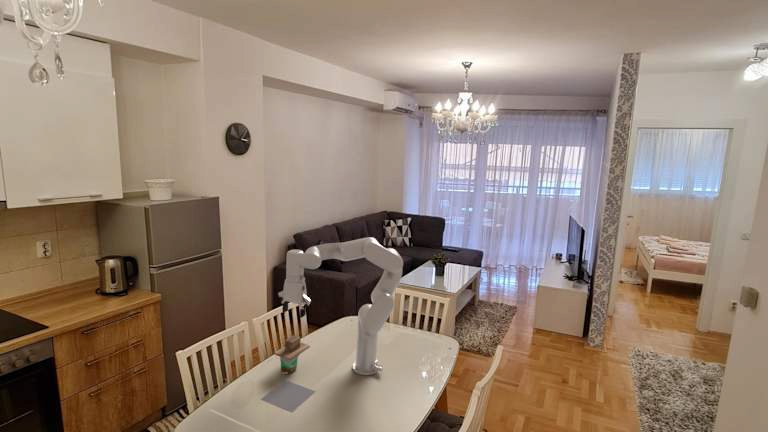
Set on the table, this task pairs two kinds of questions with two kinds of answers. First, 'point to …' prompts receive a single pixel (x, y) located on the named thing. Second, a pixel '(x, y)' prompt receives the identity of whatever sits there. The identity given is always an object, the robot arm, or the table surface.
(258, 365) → the table surface
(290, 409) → the rubber mat
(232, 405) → the table surface
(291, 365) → the food container
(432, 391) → the table surface
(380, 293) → the robot arm
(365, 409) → the table surface
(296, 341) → the walnut lid
